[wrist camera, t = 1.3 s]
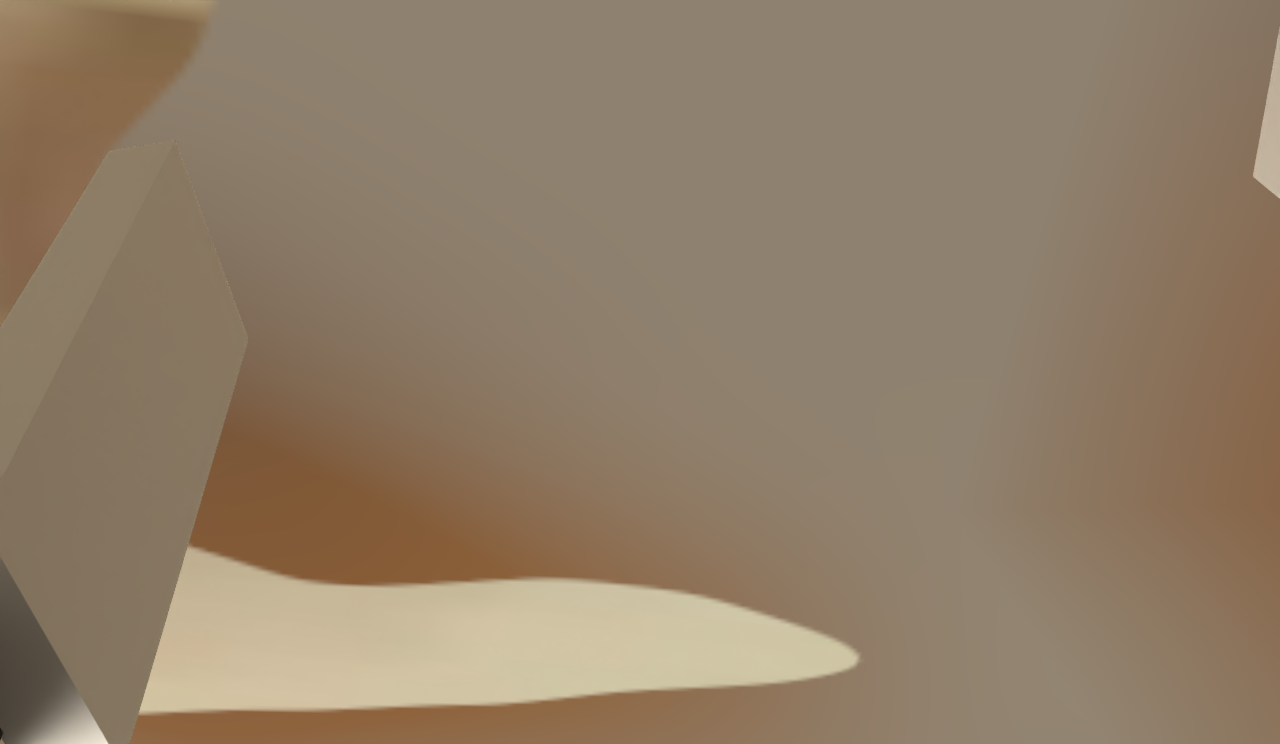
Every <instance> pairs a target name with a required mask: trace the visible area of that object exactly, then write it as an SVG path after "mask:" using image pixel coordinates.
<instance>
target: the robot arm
mask: <svg viewBox="0 0 1280 744" xmlns="http://www.w3.org/2000/svg"><path fill="white" fill-rule="evenodd" d="M1253 177H1254V178H1255V179H1257V180H1258V181H1259V182H1260V183H1262V184H1263V185H1264V186H1265V187H1266V188H1268V189H1269V190H1270V191H1271V192H1273V193H1274V194H1275V195H1276V196H1277V197H1278V198H1280V29H1279V35H1278V40H1277V46H1276V51H1275V57H1274V62H1273V68H1272V74H1271V80H1270V85H1269V90H1268V96H1267V101H1266V107H1265V113H1264V118H1263V124H1262V129H1261V135H1260V140H1259V146H1258V151H1257V157H1256V163H1255V168H1254V174H1253ZM247 342H248V337H247V334H246V331H245V328H244V326H243V323H242V320H241V318H240V315H239V312H238V310H237V307H236V304H235V301H234V298H233V296H232V293H231V290H230V288H229V285H228V282H227V279H226V277H225V274H224V271H223V269H222V266H221V263H220V261H219V258H218V255H217V252H216V250H215V247H214V244H213V242H212V239H211V236H210V233H209V231H208V228H207V225H206V222H205V220H204V217H203V214H202V212H201V209H200V206H199V203H198V201H197V198H196V195H195V193H194V190H193V187H192V184H191V182H190V179H189V176H188V173H187V171H186V168H185V165H184V163H183V160H182V157H181V155H180V152H179V149H178V146H177V144H176V141H175V140H174V141H168V142H162V143H155V144H149V145H142V146H136V147H130V148H124V149H117V150H111V151H109V152H108V153H107V155H106V157H105V158H104V160H103V161H102V163H101V165H100V166H99V168H98V170H97V171H96V173H95V174H94V176H93V178H92V179H91V181H90V183H89V184H88V186H87V187H86V189H85V191H84V192H83V194H82V196H81V197H80V199H79V201H78V202H77V204H76V205H75V207H74V209H73V210H72V212H71V214H70V215H69V217H68V218H67V220H66V222H65V223H64V225H63V227H62V228H61V230H60V231H59V233H58V235H57V236H56V238H55V240H54V241H53V243H52V245H51V246H50V248H49V249H48V251H47V253H46V254H45V256H44V258H43V259H42V261H41V262H40V264H39V266H38V267H37V269H36V271H35V272H34V274H33V275H32V277H31V279H30V280H29V282H28V284H27V285H26V287H25V288H24V290H23V292H22V293H21V295H20V297H19V298H18V300H17V302H16V303H15V305H14V306H13V308H12V310H11V311H10V313H9V315H8V316H7V318H6V319H5V321H4V323H3V324H2V326H1V328H0V740H1V739H2V740H3V742H4V743H5V744H130V740H131V737H132V733H133V730H134V727H135V723H136V720H137V717H138V713H139V710H140V706H141V703H142V700H143V696H144V693H145V689H146V686H147V683H148V679H149V676H150V672H151V669H152V666H153V662H154V659H155V655H156V652H157V649H158V645H159V642H160V638H161V635H162V632H163V628H164V625H165V621H166V618H167V615H168V611H169V608H170V604H171V601H172V598H173V594H174V591H175V587H176V584H177V581H178V577H179V574H180V570H181V567H182V563H183V560H184V557H185V553H186V550H187V546H188V543H189V539H190V536H191V533H192V529H193V526H194V523H195V519H196V516H197V512H198V509H199V505H200V502H201V499H202V495H203V491H204V489H205V485H206V482H207V478H208V475H209V471H210V468H211V465H212V461H213V458H214V455H215V451H216V448H217V444H218V441H219V438H220V434H221V431H222V427H223V424H224V420H225V417H226V413H227V410H228V407H229V403H230V400H231V397H232V393H233V390H234V387H235V383H236V380H237V376H238V372H239V369H240V366H241V363H242V359H243V356H244V352H245V349H246V345H247Z"/></svg>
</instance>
